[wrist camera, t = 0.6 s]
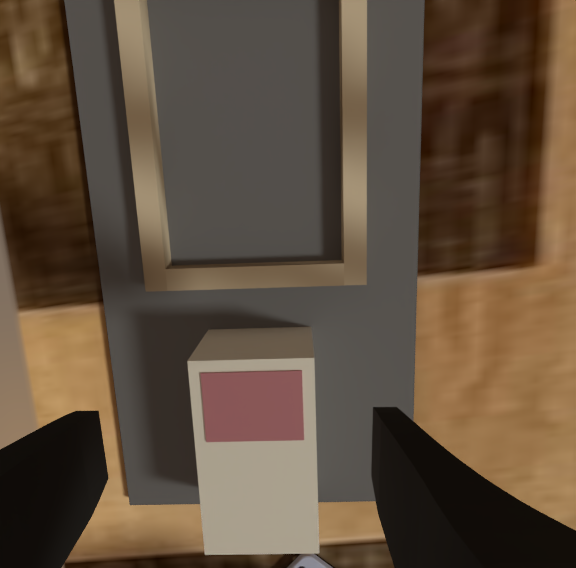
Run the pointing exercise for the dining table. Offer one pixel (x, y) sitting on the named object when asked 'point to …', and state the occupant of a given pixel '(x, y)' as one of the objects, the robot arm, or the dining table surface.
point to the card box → (256, 440)
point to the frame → (151, 179)
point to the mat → (254, 215)
